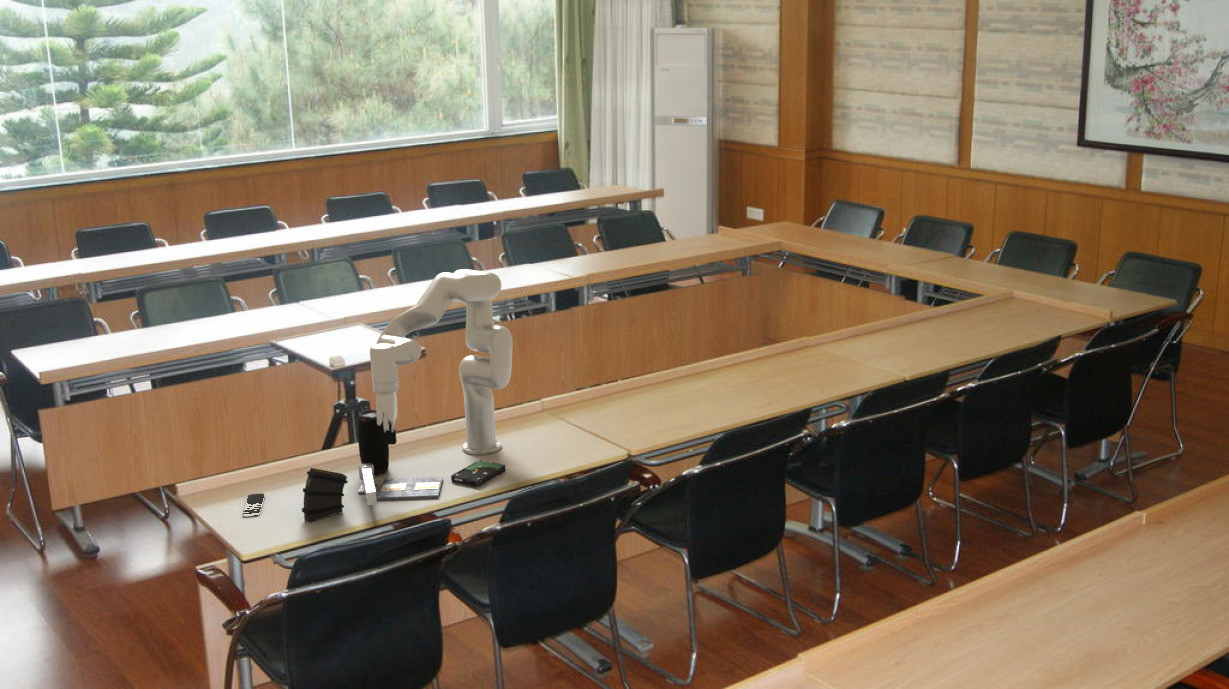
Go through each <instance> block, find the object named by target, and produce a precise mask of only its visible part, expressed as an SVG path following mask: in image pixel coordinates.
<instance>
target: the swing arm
mask: <svg viewBox="0 0 1229 689" xmlns="http://www.w3.org/2000/svg"><path fill="white" fill-rule="evenodd" d="M358 475H359V480H361V481H363V482H362V483H364V484H363V485H364V488H365V494H364V495H365V498H366V504H367V506H371V505H377V490H376V491H375V486H374V485H375V482H374V478H375V476H374V466H373V464H371V463H364V464H359V465H358Z"/></svg>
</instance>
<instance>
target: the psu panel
mask: <svg viewBox="0 0 1229 689" xmlns="http://www.w3.org/2000/svg"><path fill="white" fill-rule="evenodd" d="M443 482H444V477H443V476H437V477H436V476H433V477H410V478H406V477H405V478H404V477H403V478H385V479H383V481H382V484H381V486H380V490H379V491H378V494H377V495H376V501H402V500H406V501H407V500H427V499H428V500H429V499H431V500H432V499H439V498H440V494H441V489H442V486H443ZM439 493H440V494H439Z"/></svg>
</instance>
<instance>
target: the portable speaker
mask: <svg viewBox="0 0 1229 689" xmlns="http://www.w3.org/2000/svg"><path fill="white" fill-rule="evenodd" d="M357 441H358V451H359V459H360V463H361V464H364V463H371V464H373V466H374V477H378V476H382V475H384V474H385V473H386V471H387V470H388V469H389V466H390V463H389V461H390V446H389V445H386V444H385V438H384V426H383V421H382V423H381V425H380V426H379V425H377V410H375V409H371V408H370V409H363V410H362V411H360V412H359V415H358V417H357ZM361 464H360V465H361Z"/></svg>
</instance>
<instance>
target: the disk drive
mask: <svg viewBox="0 0 1229 689" xmlns="http://www.w3.org/2000/svg"><path fill="white" fill-rule="evenodd" d="M506 469H507V468H506V464H502V463H497V462H493V461H492V462H490V461H485V460H482V459H481V460H477V461H474V462H473V463H471V464H470V465H468V466H466V467H464V468H462V469H460V470H458V471H457V472H454V473H453V474H451V477H450V479H451V483H455V484H458V483H459V484H458V485H463V486H468V487H473V488H477V489H479V488H480V487H482V486H483V485H485V484H486V482H487V483H489V482H490V481H492V480H494V479H495V478H497V477H499V476H501V475H503V474H504V473H506V472H505V471H506ZM500 474H501V475H500ZM498 475H499V476H498ZM496 476H497V477H496ZM493 478H494V479H493ZM491 479H492V480H491Z"/></svg>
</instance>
